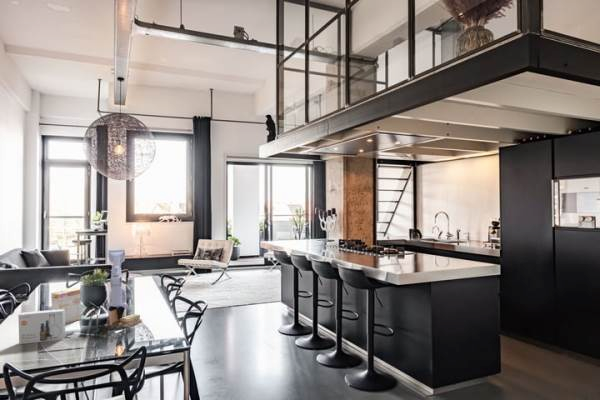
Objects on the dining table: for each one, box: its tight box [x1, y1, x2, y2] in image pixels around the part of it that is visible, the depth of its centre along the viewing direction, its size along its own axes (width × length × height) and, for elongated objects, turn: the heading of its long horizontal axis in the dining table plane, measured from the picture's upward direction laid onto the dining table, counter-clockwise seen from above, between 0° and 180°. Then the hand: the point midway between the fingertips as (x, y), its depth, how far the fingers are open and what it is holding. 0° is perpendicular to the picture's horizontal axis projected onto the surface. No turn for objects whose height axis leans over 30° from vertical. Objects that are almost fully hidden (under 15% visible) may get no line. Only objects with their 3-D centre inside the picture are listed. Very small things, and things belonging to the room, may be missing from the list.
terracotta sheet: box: [108, 310, 126, 325], centre depth 249 cm, size 2×10×8 cm, turn 160°
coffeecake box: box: [50, 288, 82, 325], centre depth 259 cm, size 15×7×20 cm, turn 149°
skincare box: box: [18, 309, 66, 345], centre depth 222 cm, size 21×6×16 cm, turn 106°
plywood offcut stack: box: [119, 313, 143, 328], centre depth 245 cm, size 7×11×4 cm, turn 160°
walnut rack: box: [105, 320, 143, 328], centre depth 247 cm, size 19×12×2 cm, turn 70°
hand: (117, 318), depth 249 cm, fingers open, 4 cm apart
